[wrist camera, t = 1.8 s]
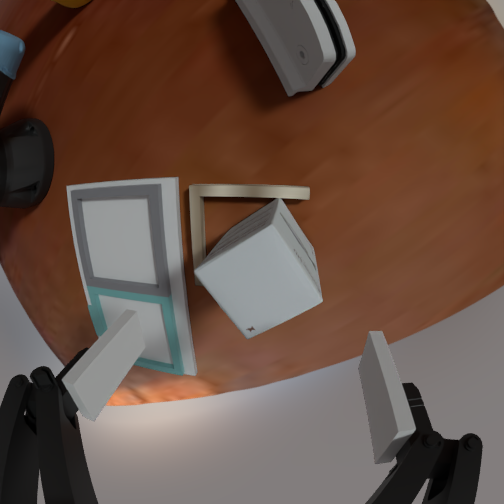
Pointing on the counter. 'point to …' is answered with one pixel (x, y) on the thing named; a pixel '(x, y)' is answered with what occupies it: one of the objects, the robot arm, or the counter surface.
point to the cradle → (229, 190)
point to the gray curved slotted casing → (301, 40)
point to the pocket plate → (135, 264)
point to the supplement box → (262, 271)
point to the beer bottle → (72, 3)
